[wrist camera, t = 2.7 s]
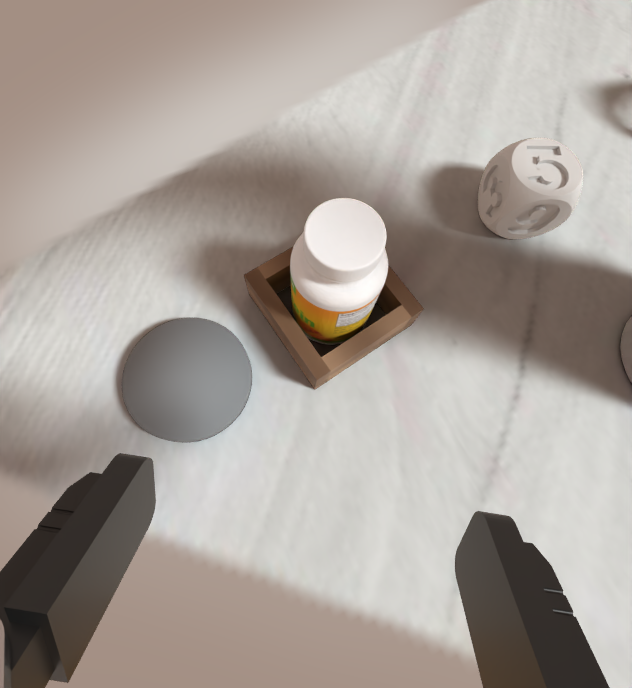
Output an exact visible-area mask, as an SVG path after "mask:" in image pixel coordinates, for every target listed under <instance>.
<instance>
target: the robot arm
mask: <svg viewBox="0 0 632 688" xmlns="http://www.w3.org/2000/svg"><path fill="white" fill-rule="evenodd" d="M620 346H621V356H622V361H623V365H624V368H625V371H626V373H627V375H628V377H629V379H630V381H631V383H632V316H631V317H630V319H629V320H628V321H627V322H626V325H625V327H624V330H623V332H622V337H621V345H620ZM155 503H156V498H155V484H154V469H153V461H152V459H151V458H147V457H141V456H134V455H128V454H121V453H120V454H118V455H116V456H115V457H114V459H113V460H112V461H111V462H110V464H109V465H108V466H107V468H106V469H105V471H104V472H103V473H102V474H99V473H92V472H90V473H89V474H87V475H86V476H84V477H83V478H81V479H80V480H79V481H77V482H76V483H74V484H73V485H71V486H70V487H69V488H68V489H67V490H66V491H65V492H64V494H63V495H62V496H61V497H60V499H59V500H58V501H57V502H56V503H55V505H54V506H53V507H52V510H51V512H48V513H47V515H46V516H45V517H44V518H43V520H42V521H41V522H40V523H39V525H38V528H37V529H35V530H34V531H33V532H32V533H31V534H30V536H29V537H28V538H27V539H26V541H25V542H24V543H23V544H22V546H21V547H20V548H19V549H18V551H17V552H16V553H15V554H14V555H13V557H12V558H11V559H10V560H9V562H8V563H7V564H6V566H5V567H4V568H3V569H2V570H1V572H0V688H45V687H46V685H47V683H48V681H49V680H54V681H60V682H67V683H68V682H69V680H70V678H71V676H72V674H73V672H74V671H75V669H76V667H77V665H78V663H79V661H80V659H81V657H82V655H83V653H84V651H85V649H86V647H87V646H88V643H89V642H90V640H91V638H92V636H93V634H94V632H95V630H96V628H97V626H98V624H99V622H100V620H101V618H102V617H103V615H104V613H105V611H106V609H107V607H108V605H109V603H110V601H111V599H112V597H113V595H114V593H115V591H116V589H117V588H118V586H119V584H120V582H121V580H122V578H123V576H124V574H125V572H126V570H127V568H128V566H129V564H130V562H131V560H132V559H133V557H134V555H135V552H136V551H137V549H138V547H139V545H140V543H141V541H142V539H143V537H144V535H145V533H146V531H147V530H148V528H149V525H150V523H151V520H152V517H153V514H154V510H155ZM455 573H456V579H457V583H458V587H459V591H460V595H461V599H462V603H463V607H464V611H465V615H466V619H467V623H468V627H469V632H470V636H471V640H472V644H473V648H474V652H475V656H476V660H477V664H478V668H479V672H480V676H481V680H482V684H483V688H609V686H608V684H607V682H606V679H605V677H604V675H603V673H602V671H601V669H600V667H599V665H598V663H597V661H596V658H595V656H594V654H593V652H592V650H591V648H590V646H589V644H588V642H587V640H586V637H585V635H584V633H583V631H582V629H581V627H580V625H579V623H578V621H577V619H576V617H574V616H573V610H572V608H571V606H570V604H569V602H568V600H567V598H566V596H565V595H563V589H562V587H561V585H560V583H559V581H558V579H557V577H556V574H555V572H554V570H553V568H552V566H551V565H550V564H549V562H548V561H547V560H546V559H545V558H544V556H543V555H542V554H541V553H540V552H539V550H538V549H537V548H536V547H535V546H534V544H532V543H526V542H523V540H522V538H521V535H520V533H519V531H518V528H517V526H516V524H515V522H514V520H513V519H512V518H511V517H509V516H506V515H499V514H493V513H487V512H480V511H477V512H475V513H474V515H473V517H472V519H471V521H470V523H469V525H468V527H467V529H466V532H465V534H464V536H463V538H462V540H461V542H460V544H459V546H458V549H457V551H456V556H455Z"/></svg>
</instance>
